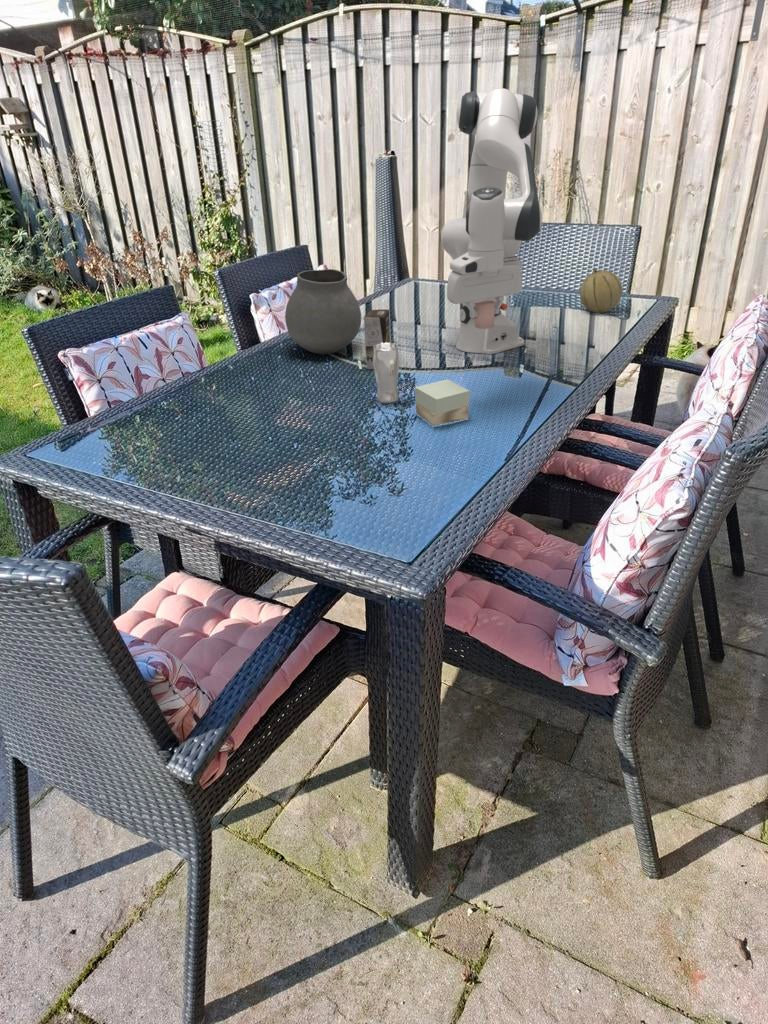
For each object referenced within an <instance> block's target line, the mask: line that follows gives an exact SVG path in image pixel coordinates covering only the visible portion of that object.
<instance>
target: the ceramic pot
mask: <svg viewBox="0 0 768 1024" xmlns="http://www.w3.org/2000/svg"><path fill="white" fill-rule="evenodd" d="M296 276H297V278H296V286H295V288H294V289H293V291H292V293H291V295H290V296H289V299H288V301H287V302H286V306H285V316H284V317H285V318H284V320H285V325H286V329H287V331H288V335H289V336H290V338H291V339H292V340H293V341H294V342H295V343H296V344H297V345H299V346H300V347H301V348H302V349H305V350H306V351H308V352H309V353H310V352H311V353H312V354H316V355H331V354H334V353H338V352H340V351H341V350H343V349H344V348H345V347H347V346H348V345H349V344H351V343H352V341H353V340H354V339H355V338H356V337H357V335H359V331H360V329H361V325H362V311H361V308H360V305H359V302H358V300H357V298H356V296H355V295H354V293H353V292H352V290H351V289H350V287H349V285H348V276H347V273H345V272H344V271H341V270H338V269H333V268H325V269H318V270H317V269H316V270H315V269H310V270H304V271H301V272H298V273H297V275H296Z"/></svg>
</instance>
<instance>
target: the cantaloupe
mask: <svg viewBox="0 0 768 1024" xmlns="http://www.w3.org/2000/svg"><path fill="white" fill-rule="evenodd" d="M622 296H623V284H622V281H621V280H620V278H619V277H618V276H617V274H616V273H615V272H612V271H609V270H597V269H594V270H593V273H590V274H589V275H587V276H586V277H585V278H584V280H583V281H582V283H581V286H580V289H579V297H580V298H579V299H580V301H581V304H582V305H583V306H584V308H585V309H586V310H588V311H591V312H592V313H605V312H607V311H609V310H611V309H613V308H615V307H616V306H617V305H618V304H619V303H620V301H621V299H622Z"/></svg>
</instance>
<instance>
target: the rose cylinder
mask: <svg viewBox="0 0 768 1024" xmlns="http://www.w3.org/2000/svg"><path fill="white" fill-rule="evenodd" d="M475 310H476V311H478V314H477V315H478V317H477V318H475V327H476V328H480V329H488V328H492V327H494V310H495V302H494V301H490V300H481V301H477V302H475Z"/></svg>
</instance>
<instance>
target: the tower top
mask: <svg viewBox="0 0 768 1024" xmlns="http://www.w3.org/2000/svg"><path fill="white" fill-rule="evenodd" d="M470 393H471V391H470V390H469V389H467V388H466V387H463V386H461V385H460V384H458V383H455V382H454V381H452V380H450V379H448V378H447V379H443V380H439V381H435V382H430V383H427V384H423V385H419V386H415V387H414V395H415V396H414V400H415V404H416V403H418V404H420V405H421V406H423V407H425V408H426V409H428V410H430V411H431V412H433V413H435V414H436V415H437V414H440V413H444V412H448V411H451V410H455V409H459V408H462V407H466V406H468V407H469V406H470V405H471V403H470V402H471V401H470V400H471V399H470V397H471V394H470Z"/></svg>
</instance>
